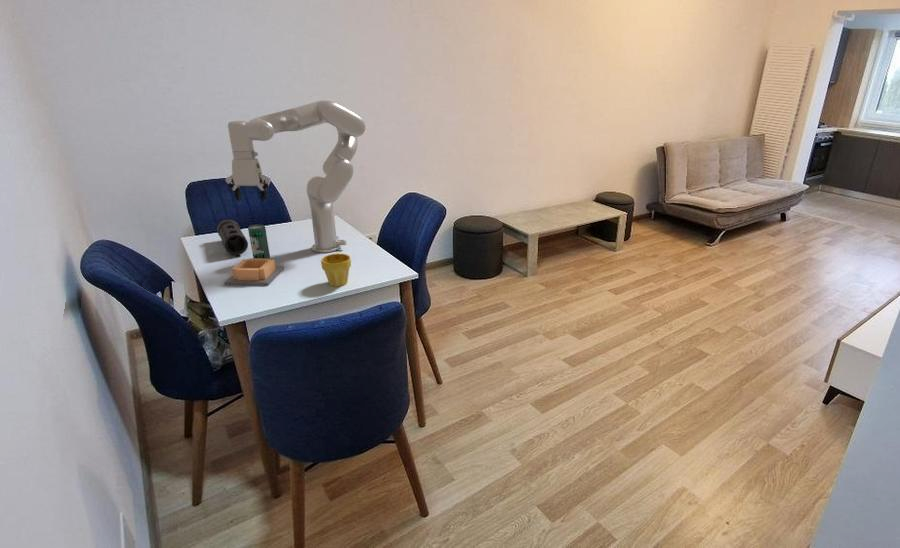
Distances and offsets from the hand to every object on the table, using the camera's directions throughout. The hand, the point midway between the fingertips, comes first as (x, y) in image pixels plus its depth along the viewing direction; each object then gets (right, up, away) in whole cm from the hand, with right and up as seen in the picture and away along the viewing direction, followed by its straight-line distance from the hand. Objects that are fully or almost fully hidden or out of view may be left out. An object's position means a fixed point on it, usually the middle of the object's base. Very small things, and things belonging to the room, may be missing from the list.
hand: (251, 200), depth 179 cm
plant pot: (+37, -33, -10) cm, 50 cm away
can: (0, -24, +10) cm, 26 cm away
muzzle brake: (-19, -17, +26) cm, 37 cm away
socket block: (+4, -30, -5) cm, 31 cm away
